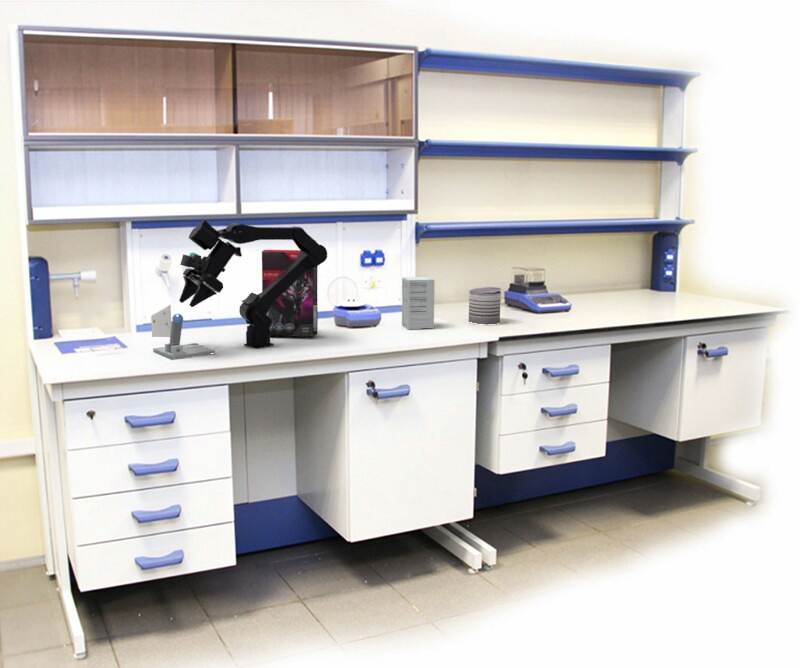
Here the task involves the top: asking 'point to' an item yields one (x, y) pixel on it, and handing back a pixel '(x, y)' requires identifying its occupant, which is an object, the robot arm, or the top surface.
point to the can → (484, 305)
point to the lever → (176, 330)
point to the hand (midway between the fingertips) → (185, 304)
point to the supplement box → (417, 302)
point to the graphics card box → (291, 296)
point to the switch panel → (183, 351)
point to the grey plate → (162, 323)
